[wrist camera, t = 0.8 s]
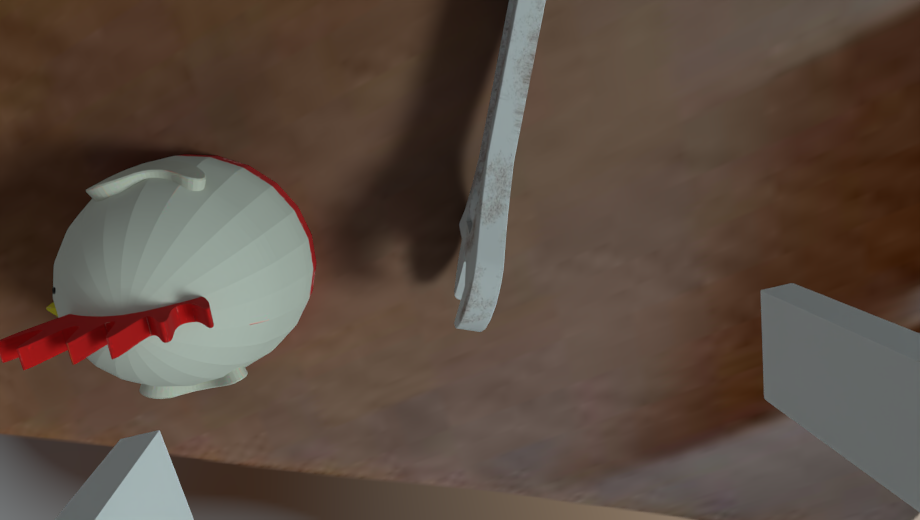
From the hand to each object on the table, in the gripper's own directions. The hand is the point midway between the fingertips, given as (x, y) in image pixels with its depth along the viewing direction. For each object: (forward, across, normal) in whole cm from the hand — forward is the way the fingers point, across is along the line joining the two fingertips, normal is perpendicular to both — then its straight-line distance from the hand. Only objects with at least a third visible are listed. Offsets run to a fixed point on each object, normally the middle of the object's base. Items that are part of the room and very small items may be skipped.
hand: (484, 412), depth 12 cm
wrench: (+27, +7, +7) cm, 28 cm away
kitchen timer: (+26, -14, 0) cm, 30 cm away
